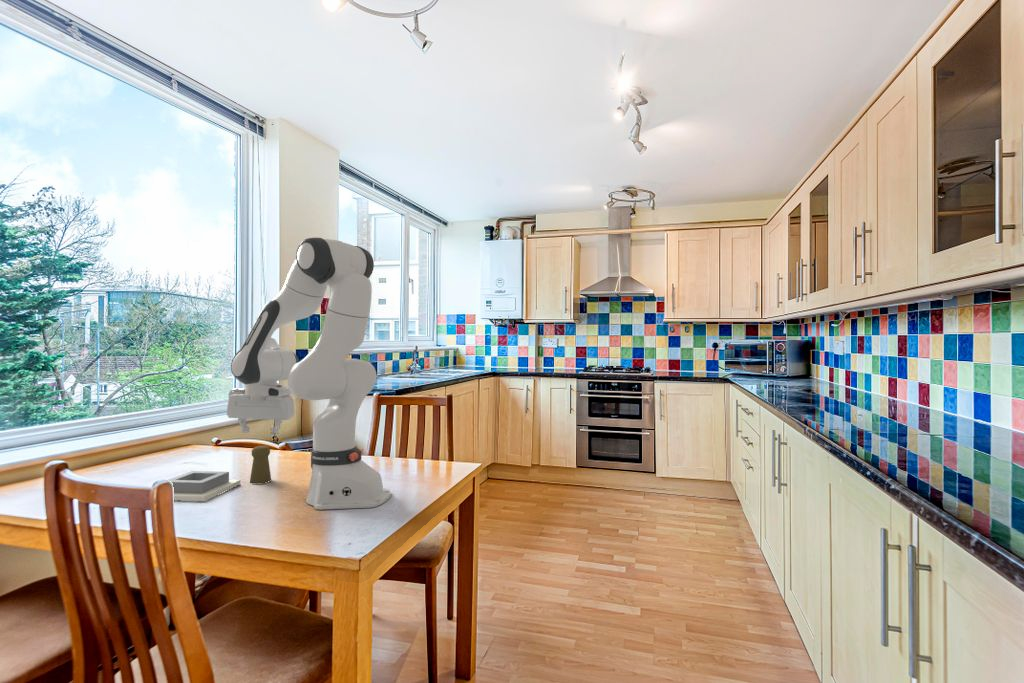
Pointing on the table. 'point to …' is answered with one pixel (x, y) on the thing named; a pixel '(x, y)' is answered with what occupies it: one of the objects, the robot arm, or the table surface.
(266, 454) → the cork
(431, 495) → the table surface
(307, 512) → the table surface
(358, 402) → the robot arm
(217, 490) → the socket board
